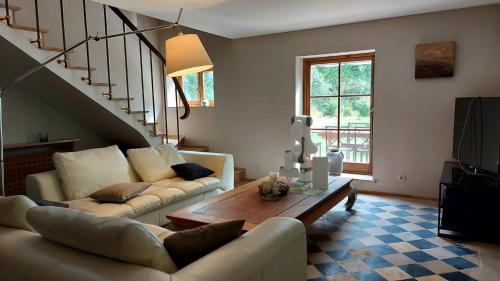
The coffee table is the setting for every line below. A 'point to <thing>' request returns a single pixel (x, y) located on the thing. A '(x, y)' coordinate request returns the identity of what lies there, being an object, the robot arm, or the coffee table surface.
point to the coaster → (299, 184)
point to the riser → (300, 189)
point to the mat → (313, 192)
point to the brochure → (320, 172)
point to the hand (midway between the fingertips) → (288, 181)
